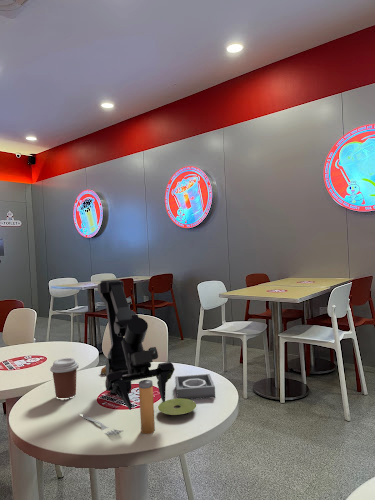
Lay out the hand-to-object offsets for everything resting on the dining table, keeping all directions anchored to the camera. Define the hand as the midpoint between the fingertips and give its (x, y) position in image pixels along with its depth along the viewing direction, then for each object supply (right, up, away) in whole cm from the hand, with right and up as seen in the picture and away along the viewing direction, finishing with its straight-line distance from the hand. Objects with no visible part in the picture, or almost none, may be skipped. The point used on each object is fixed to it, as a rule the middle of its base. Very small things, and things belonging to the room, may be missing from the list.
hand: (147, 405), depth 101 cm
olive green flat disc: (+8, -7, +11) cm, 15 cm away
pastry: (-19, -8, +51) cm, 55 cm away
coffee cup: (-30, -8, +27) cm, 42 cm away
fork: (-15, -8, +7) cm, 19 cm away
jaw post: (0, -7, +1) cm, 7 cm away
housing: (+13, -6, +26) cm, 30 cm away
